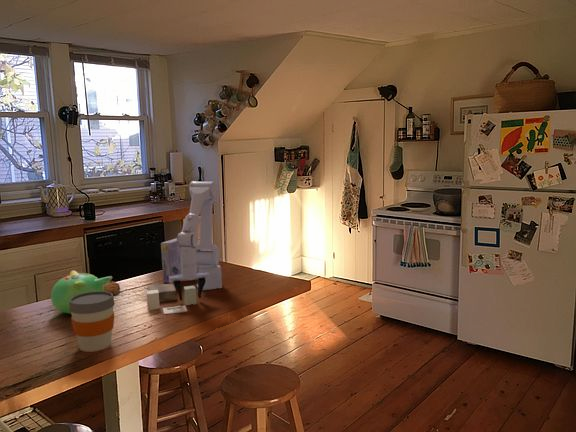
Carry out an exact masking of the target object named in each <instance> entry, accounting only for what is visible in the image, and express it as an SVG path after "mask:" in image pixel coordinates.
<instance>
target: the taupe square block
mask: <svg viewBox="0 0 576 432" xmlns="http://www.w3.org/2000/svg"><path fill="white" fill-rule="evenodd" d="M150 290H158V292H159V303H160V302H168V301H175V300H177V289H176V287H175V285H174V283H164V284H163V283H162V284H153V285H147V290H146V291H150Z"/></svg>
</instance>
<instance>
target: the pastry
mask: <svg viewBox="0 0 576 432" xmlns="http://www.w3.org/2000/svg"><path fill="white" fill-rule="evenodd" d="M103 287H104V291H105V292H110V293H112V294H113V295H118V294H119V293H120V291H121V286H120V284H119V283H118V282H116V281H113V280H110V281H109V282H108V283H106V284H105V285H104V286H103Z"/></svg>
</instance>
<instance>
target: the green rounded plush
mask: <svg viewBox="0 0 576 432" xmlns="http://www.w3.org/2000/svg"><path fill="white" fill-rule="evenodd" d="M112 279H113V276H112V275H110V276H105V277H100V278H98V277H97V276H95V275H94V274H91V273H88V272H87V273H86V272H78V271H76V270H71V271H70V272H69V274H68V275H66V276H64V277H62V278H60V279H59V280H58V281H57V282H56V283H55V284H54V286H53V287H52V290H51V293H50V299H51V303H52V305H53V307H55V309H56V310H58V311H59V312H61V313H64V314H70V315H72V314H71V312H70V311H69V301H70V299H71V298H72V297H74V296H76V295H78V294H82V293H87V292H94V291H104V287H103V286H104V285H105V284H106V283H108V282H110V281H112Z"/></svg>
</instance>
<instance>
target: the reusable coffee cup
mask: <svg viewBox="0 0 576 432" xmlns="http://www.w3.org/2000/svg"><path fill="white" fill-rule="evenodd" d="M114 306H115V299H114V294H112V293H110V292H105V291H94V292H87V293H82V294H78V295H76V296H74V297H72V298H71V299H70V301H69V311H70V312H71V314H70V315H71V317H70V321H71V325H72V329H73V334H75V336H76V339H77V343H78V348H79V350H80V351H82V352H88V353H89V352H98V351H101V350H105V349H107V348H109V347H110V346H111V345H112V334H113V329H114V327H115V326H114V324H115V323H114V322H115V321H114V320H115V311H114Z"/></svg>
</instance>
